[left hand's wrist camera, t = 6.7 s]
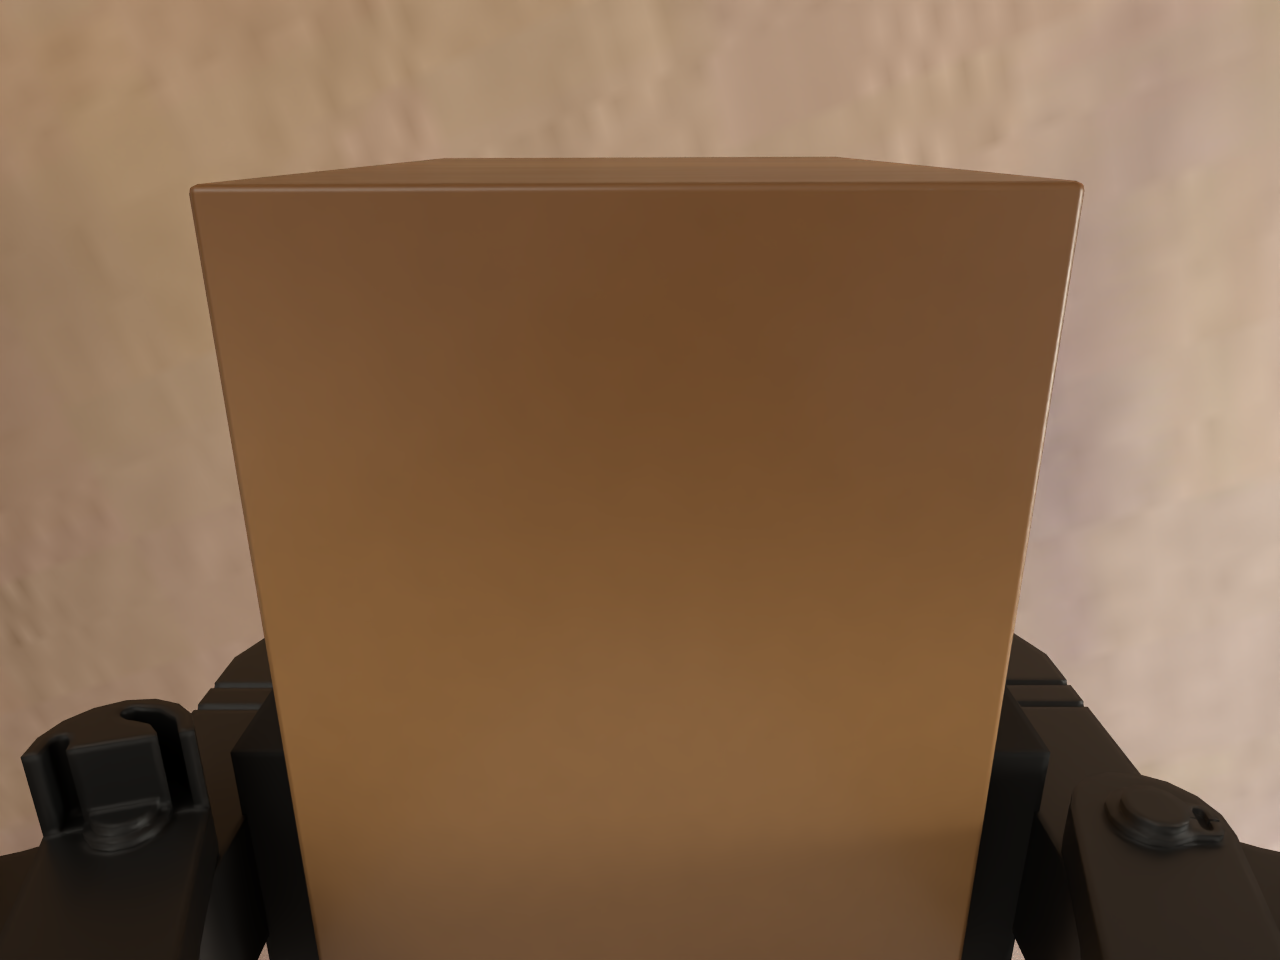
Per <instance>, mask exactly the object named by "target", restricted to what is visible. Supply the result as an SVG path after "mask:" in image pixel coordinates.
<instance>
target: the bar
mask: <svg viewBox="0 0 1280 960" xmlns="http://www.w3.org/2000/svg"><path fill="white" fill-rule="evenodd" d="M189 195H190V201H191V207H192V213H193V219H194V225H195V231H196V237H197V243H198V248H199V254H200V260H201V266H202V272H203V278H204V284H205V290H206V296H207V301H208V307H209V313H210V319H211V325H212V331H213V337H214V343H215V349H216V355H217V360H218V366H219V372H220V378H221V384H222V390H223V396H224V402H225V408H226V413H227V419H228V425H229V431H230V437H231V443H232V449H233V455H234V461H235V466H236V472H237V478H238V484H239V490H240V496H241V502H242V508H243V514H244V520H245V525H246V531H247V537H248V543H249V549H250V555H251V561H252V567H253V573H254V578H255V584H256V590H257V596H258V602H259V608H260V614H261V620H262V626H263V632H264V637H265V643H266V649H267V655H268V661H269V667H270V673H271V679H272V685H273V690H274V696H275V702H276V708H277V714H278V720H279V726H280V732H281V738H282V743H283V749H284V755H285V761H286V767H287V773H288V779H289V785H290V791H291V797H292V802H293V808H294V814H295V820H296V826H297V832H298V838H299V844H300V850H301V855H302V861H303V867H304V873H305V879H306V885H307V891H308V897H309V903H310V908H311V914H312V920H313V926H314V932H315V938H316V944H317V950H318V956H319V960H961V957H962V951H963V945H964V939H965V932H966V926H967V920H968V914H969V907H970V901H971V895H972V889H973V882H974V876H975V870H976V864H977V857H978V851H979V845H980V839H981V833H982V826H983V820H984V814H985V808H986V801H987V795H988V789H989V783H990V776H991V770H992V764H993V758H994V751H995V745H996V739H997V733H998V726H999V720H1000V714H1001V708H1002V701H1003V695H1004V689H1005V683H1006V676H1007V670H1008V664H1009V658H1010V651H1011V645H1012V639H1013V633H1014V626H1015V620H1016V614H1017V608H1018V602H1019V595H1020V589H1021V583H1022V577H1023V570H1024V564H1025V558H1026V552H1027V545H1028V539H1029V533H1030V527H1031V520H1032V514H1033V508H1034V502H1035V495H1036V489H1037V483H1038V477H1039V470H1040V464H1041V458H1042V452H1043V445H1044V439H1045V433H1046V427H1047V420H1048V414H1049V408H1050V402H1051V395H1052V389H1053V383H1054V377H1055V370H1056V364H1057V358H1058V352H1059V346H1060V339H1061V333H1062V327H1063V321H1064V314H1065V308H1066V302H1067V296H1068V289H1069V283H1070V277H1071V271H1072V264H1073V258H1074V252H1075V246H1076V239H1077V233H1078V227H1079V221H1080V214H1081V208H1082V202H1083V196H1084V186H1083V184H1082V183H1079V182H1077V181H1071V180H1061V179H1051V178H1041V177H1031V176H1021V175H1011V174H1001V173H991V172H981V171H971V170H961V169H951V168H941V167H931V166H921V165H911V164H901V163H891V162H881V161H871V160H861V159H851V158H841V157H678V158H443V159H433V160H424V161H414V162H405V163H395V164H386V165H376V166H367V167H357V168H348V169H338V170H329V171H319V172H309V173H300V174H290V175H281V176H271V177H262V178H252V179H243V180H233V181H224V182H214V183H205V184H197V185H195V186H193V187H191V188H190V193H189Z"/></svg>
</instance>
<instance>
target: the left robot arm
mask: <svg viewBox="0 0 1280 960" xmlns="http://www.w3.org/2000/svg"><path fill="white" fill-rule="evenodd" d="M21 760H22V764H23V767H24V771H25V774H26V778H27V781H28V785H29V788H30V792H31V795H32V799H33V802H34V805H35V809H36V812H37V816H38V819H39V823H40V826H41V830H42V833H43V839H42V841H41V844H40V846H39V847H36V848H32V849H29V850H25V851H22V852H17V853H12V854H8V855H3V856H0V960H258V958H259V956H260V954H261V952H262V949H263V947H264V945H265V943H267V949H268V954H269V959H270V960H319V956H318V950H317V944H316V938H315V932H314V926H313V920H312V914H311V908H310V903H309V897H308V891H307V885H306V879H305V873H304V867H303V861H302V855H301V850H300V844H299V838H298V832H297V826H296V820H295V814H294V808H293V802H292V797H291V791H290V785H289V779H288V773H287V767H286V761H285V755H284V749H283V743H282V738H281V732H280V726H279V720H278V714H277V708H276V702H275V696H274V690H273V685H272V679H271V673H270V667H269V661H268V655H267V649H266V643H265V638H264V639H262V640H261V641H259V642H258V643H256V644H255V645H253V646H252V647H250V648H249V649H247V650H246V651H244V652H242V653H241V654H239V655H238V656H236V657H235V658H234V659H233V660H232V662H231V663H230V664H229V666H228V667H227V668H226V669H225V671H224V672H223V673H222V675H221V676H220V677H219V678H218V680H217V681H216V682H215V688H211V689H210V690H209V691H208V693H207V694H206V695H205V696H204V698H203V699H202V700H201V702H200V703H199V704H198V710H194V711H193V712H192V713H190V712H188V711H187V710H186V709H185V708H183V707H182V706H181V705H180V704H178V703H173V702H168V701H163V700H159V699H143V700H126V701H122V702H117V703H113V704H109V705H105V706H101V707H96V708H93V709H91V710H88V711H86V712H84V713H81V714H79V715H76V716H74V717H72V718H69V719H67V720H64V721H62V722H61V723H59V724H58V725H56V726H55V727H53V728H52V729H50V730H49V731H47V732H46V733H44V734H43V735H41V736H40V737H38V738H37V739H36V740H35V741H34V742H33V744H32V745H31V746H30V747H29V748H28V749H27V751H26V752H25V753H24V754H23V755H22V756H21ZM1015 939H1016V941H1017V943H1018V945H1019V948H1020V950H1021V952H1022V954H1023V956H1024V958H1025V960H1280V852H1277V851H1273V850H1268V849H1263V848H1259V847H1256V846H1252V845H1249V844H1245V843H1241V842H1239V840H1238V837H1237V835H1236V834H1235V833H1234V831H1233V830H1232V828H1231V827H1230V826H1229V824H1228V823H1227V822H1226V820H1225V819H1224V818H1223V816H1222V815H1221V814H1220V813H1218V812H1217V811H1216V810H1214V809H1213V808H1212V807H1211V806H1209V805H1208V804H1207V803H1205V802H1204V801H1203V800H1201V799H1200V798H1199V797H1197V796H1196V795H1193V794H1191V793H1189V792H1187V791H1185V790H1183V789H1181V788H1179V787H1177V786H1175V785H1173V784H1171V783H1168V782H1166V781H1162V780H1158V779H1154V778H1151V777H1147V776H1143V775H1141V774H1140V773H1139V772H1138V770H1137V769H1136V768H1135V767H1134V765H1133V764H1132V763H1131V761H1130V760H1129V759H1128V758H1127V756H1126V755H1125V754H1124V753H1123V751H1122V750H1121V749H1120V747H1119V746H1118V745H1117V744H1116V742H1115V741H1114V740H1113V739H1112V737H1111V736H1110V735H1109V733H1108V732H1107V731H1106V730H1105V728H1104V727H1103V726H1102V725H1101V723H1100V722H1099V721H1098V719H1097V718H1096V717H1095V716H1094V714H1093V713H1092V712H1091V711H1090V709H1089V708H1088V707H1084V705H1083V700H1082V699H1081V698H1080V697H1079V695H1078V694H1077V693H1076V691H1075V690H1074V689H1073V688H1072V686H1071V685H1067V680H1066V679H1065V677H1064V676H1063V675H1062V674H1061V672H1060V671H1059V670H1058V669H1057V667H1056V666H1055V665H1054V663H1053V662H1052V661H1051V660H1050V658H1049V657H1048V656H1047V655H1046V654H1045V653H1043V652H1042V651H1040V650H1039V649H1037V648H1036V647H1034V646H1033V645H1031V644H1030V643H1028V642H1026V641H1025V640H1023V639H1022V638H1020V637H1019V636H1017V635H1016V634H1014V633H1013V639H1012V645H1011V651H1010V658H1009V664H1008V670H1007V676H1006V683H1005V689H1004V695H1003V701H1002V708H1001V714H1000V720H999V726H998V733H997V739H996V745H995V751H994V758H993V764H992V770H991V776H990V783H989V789H988V795H987V801H986V808H985V814H984V820H983V826H982V833H981V839H980V845H979V851H978V857H977V864H976V870H975V876H974V882H973V889H972V895H971V901H970V907H969V914H968V920H967V926H966V932H965V939H964V945H963V951H962V957H961V960H1011V958H1012V952H1013V947H1014V942H1015Z"/></svg>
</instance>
